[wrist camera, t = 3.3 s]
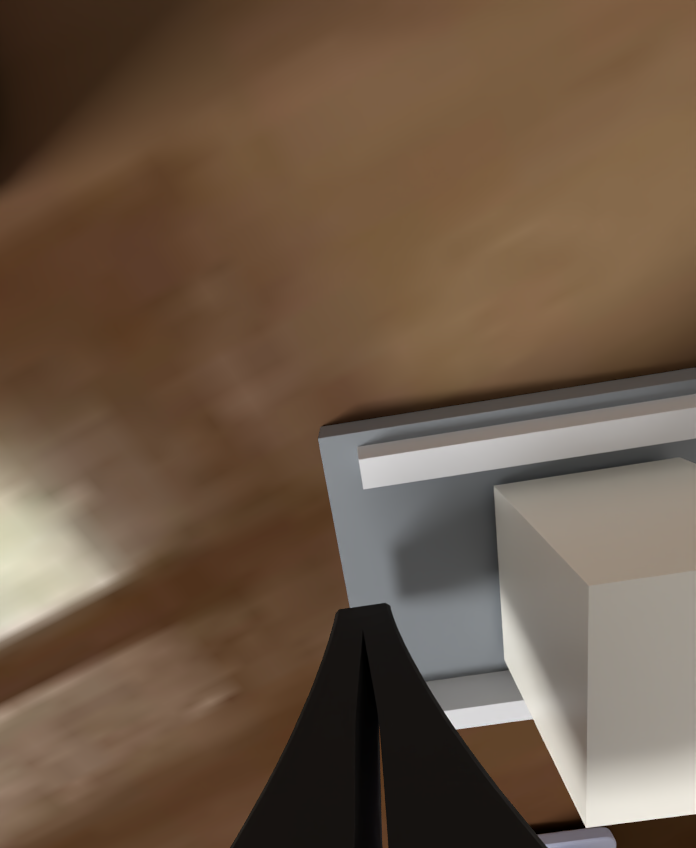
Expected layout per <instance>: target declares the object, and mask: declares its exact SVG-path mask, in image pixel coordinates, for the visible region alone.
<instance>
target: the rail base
mask: <svg viewBox="0 0 696 848" xmlns="http://www.w3.org/2000/svg"><path fill="white" fill-rule="evenodd" d="M318 441H319V446H320V452H321V457H322V462H323V467H324V473H325V478H326V483H327V489H328V494H329V499H330V504H331V510H332V515H333V520H334V526H335V531H336V536H337V541H338V547H339V552H340V557H341V563H342V568H343V573H344V578H345V584H346V589H347V594H348V600H349V605H350V608H353V607H360V606H366V605H373V604H380V603H387V604H388V605H390V606H391V611H392V614H393V617H394V620H395V623H396V625H397V627H398V630H399V632H400V634H401V637H402V639H403V641H404V643H405V645H406V647H407V649H408V651H409V653H410V655H411V657H412V659H413V660H414V662H415V664H416V666H417V668H418V669H419V671H420V673H421V675H422V677H423V678H424V680H425V682H426V683H427V685H428V687H429V689H430V690H431V692H432V694H433V695H434V697H435V698H436V700H437V701H438V703H439V705H440V706H441V708H442V709H443V711H444V712H445V714H446V716H447V717H448V719H449V720H450V722H451V723H452V725H453V726H454V727H455V729H462V728H470V727H477V726H485V725H492V724H499V723H507V722H514V721H522V720H529V719H533V718H532V716H531V714H530V712H529V710H528V708H527V705H526V703H525V701H524V699H523V697H522V695H521V693H520V691H519V689H518V687H517V685H516V683H515V681H514V679H513V677H512V675H511V673H510V670H509V668H508V666H507V664H506V662H505V660H504V646H503V630H502V614H501V598H500V582H499V566H498V550H497V533H496V517H495V501H494V485H501V484H507V483H514V482H520V481H527V480H534V479H540V478H547V477H553V476H560V475H566V474H573V473H580V472H586V471H593V470H599V469H606V468H612V467H619V466H625V465H632V464H639V463H645V462H652V461H658V460H665V459H671V458H678V457H680V458H683V459H685V460H688V461H690V462H693V463H695V464H696V367H695V368H689V369H683V370H676V371H670V372H664V373H657V374H651V375H645V376H638V377H632V378H626V379H620V380H613V381H607V382H601V383H594V384H588V385H582V386H575V387H569V388H563V389H556V390H550V391H544V392H537V393H531V394H525V395H519V396H512V397H506V398H500V399H493V400H487V401H481V402H474V403H468V404H462V405H455V406H449V407H443V408H436V409H430V410H424V411H418V412H411V413H405V414H399V415H392V416H386V417H380V418H373V419H367V420H361V421H354V422H348V423H342V424H335V425H329V426H323V427H320V432H319V437H318Z"/></svg>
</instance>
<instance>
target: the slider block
mask: <svg viewBox="0 0 696 848" xmlns="http://www.w3.org/2000/svg"><path fill="white" fill-rule="evenodd" d="M494 501H495V517H496V533H497V550H498V566H499V582H500V598H501V614H502V630H503V646H504V660H505V662H506V664H507V666H508V668H509V670H510V673H511V675H512V677H513V679H514V681H515V683H516V685H517V687H518V689H519V691H520V693H521V695H522V697H523V699H524V701H525V703H526V705H527V708H528V710H529V712H530V714H531V716H532V718H533V720H534V722H535V724H536V726H537V728H538V730H539V732H540V734H541V736H542V738H543V740H544V742H545V745H546V747H547V749H548V751H549V753H550V755H551V757H552V759H553V761H554V763H555V765H556V767H557V769H558V771H559V773H560V775H561V777H562V780H563V782H564V784H565V786H566V788H567V790H568V792H569V794H570V796H571V798H572V800H573V802H574V804H575V806H576V808H577V810H578V812H579V814H580V817H581V819H582V821H583V823H584V825H585V827H586V828H590V827H598V826H605V825H613V824H621V823H629V822H637V821H645V820H653V819H660V818H668V817H676V816H684V815H692V814H696V464H695V463H693V462H690V461H688V460H685V459H683V458H680V457H678V458H671V459H665V460H658V461H652V462H645V463H639V464H632V465H625V466H619V467H612V468H606V469H599V470H593V471H586V472H580V473H573V474H566V475H560V476H553V477H547V478H540V479H534V480H527V481H520V482H514V483H507V484H501V485H494Z"/></svg>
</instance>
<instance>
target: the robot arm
mask: <svg viewBox="0 0 696 848" xmlns="http://www.w3.org/2000/svg"><path fill="white" fill-rule="evenodd" d="M379 727H380V737H381V750H382V763H383V776H384V789H385V803H386V817H387V832H388V846H389V848H616V840H615V838H614V837H613V835H612V833H611V831H610V830H609V829H608V828H606V827H592V828H584V829H576V830H568V831H560V832H552V833H544V834H536V833H535V832H534V830H533V829H532V828H531V827H530V826H529V824H528V823H527V822H526V821H525V820H524V818H523V817H522V816H521V815H520V813H519V812H518V811H517V810H516V809H515V807H514V806H513V805H512V804H511V803H510V801H509V800H508V799H507V798H506V796H505V795H504V794H503V793H502V791H501V790H500V789H499V788H498V786H497V785H496V784H495V782H494V781H493V780H492V778H491V777H490V776H489V774H488V773H487V772H486V771H485V769H484V768H483V767H482V765H481V764H480V763H479V761H478V760H477V759H476V757H475V756H474V754H473V753H472V752H471V750H470V749H469V747H468V746H467V745H466V743H465V742H464V740H463V739H462V738H461V736H460V735H459V733H458V732H457V730H456V729H455V727H454V726H453V725H452V723H451V722H450V720H449V719H448V717H447V716H446V714H445V712H444V711H443V709H442V708H441V706H440V705H439V703H438V701H437V700H436V698H435V697H434V695H433V694H432V692H431V690H430V689H429V687H428V685H427V683H426V682H425V680H424V678H423V677H422V675H421V673H420V671H419V669H418V668H417V666H416V664H415V662H414V660H413V659H412V657H411V655H410V653H409V651H408V649H407V647H406V645H405V643H404V641H403V639H402V637H401V634H400V632H399V630H398V627H397V625H396V623H395V620H394V617H393V614H392V611H391V606H390V605H388V604H387V603H380V604H373V605H366V606H360V607H353V608H346V609H339V610H338V612H337V613H336V614H335V619H334V623H333V627H332V631H331V634H330V638H329V641H328V644H327V647H326V650H325V653H324V656H323V659H322V662H321V664H320V667H319V670H318V672H317V675H316V678H315V680H314V683H313V686H312V688H311V691H310V693H309V696H308V698H307V700H306V703H305V705H304V707H303V709H302V712H301V714H300V716H299V719H298V721H297V723H296V725H295V728H294V730H293V732H292V734H291V736H290V739H289V741H288V743H287V745H286V747H285V749H284V751H283V753H282V755H281V757H280V759H279V761H278V763H277V765H276V767H275V769H274V771H273V773H272V774H271V776H270V778H269V780H268V782H267V784H266V786H265V788H264V790H263V791H262V793H261V795H260V797H259V799H258V800H257V802H256V804H255V806H254V807H253V809H252V811H251V813H250V814H249V816H248V818H247V820H246V822H245V823H244V825H243V827H242V829H241V830H240V832H239V834H238V835H237V837H236V839H235V840H234V842H233V844H232V845H231V847H230V848H382V824H381V783H380V743H379Z"/></svg>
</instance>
